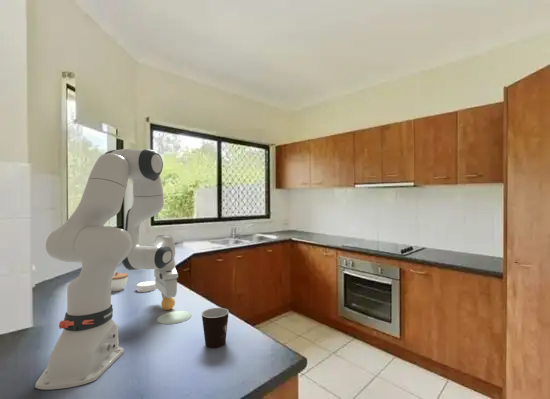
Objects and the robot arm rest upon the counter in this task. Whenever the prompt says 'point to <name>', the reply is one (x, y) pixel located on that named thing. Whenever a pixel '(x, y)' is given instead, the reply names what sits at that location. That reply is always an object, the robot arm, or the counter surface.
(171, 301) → the ball
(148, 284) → the white round disc
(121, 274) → the lidded jar
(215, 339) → the coffee mug
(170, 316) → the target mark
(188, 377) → the counter surface
